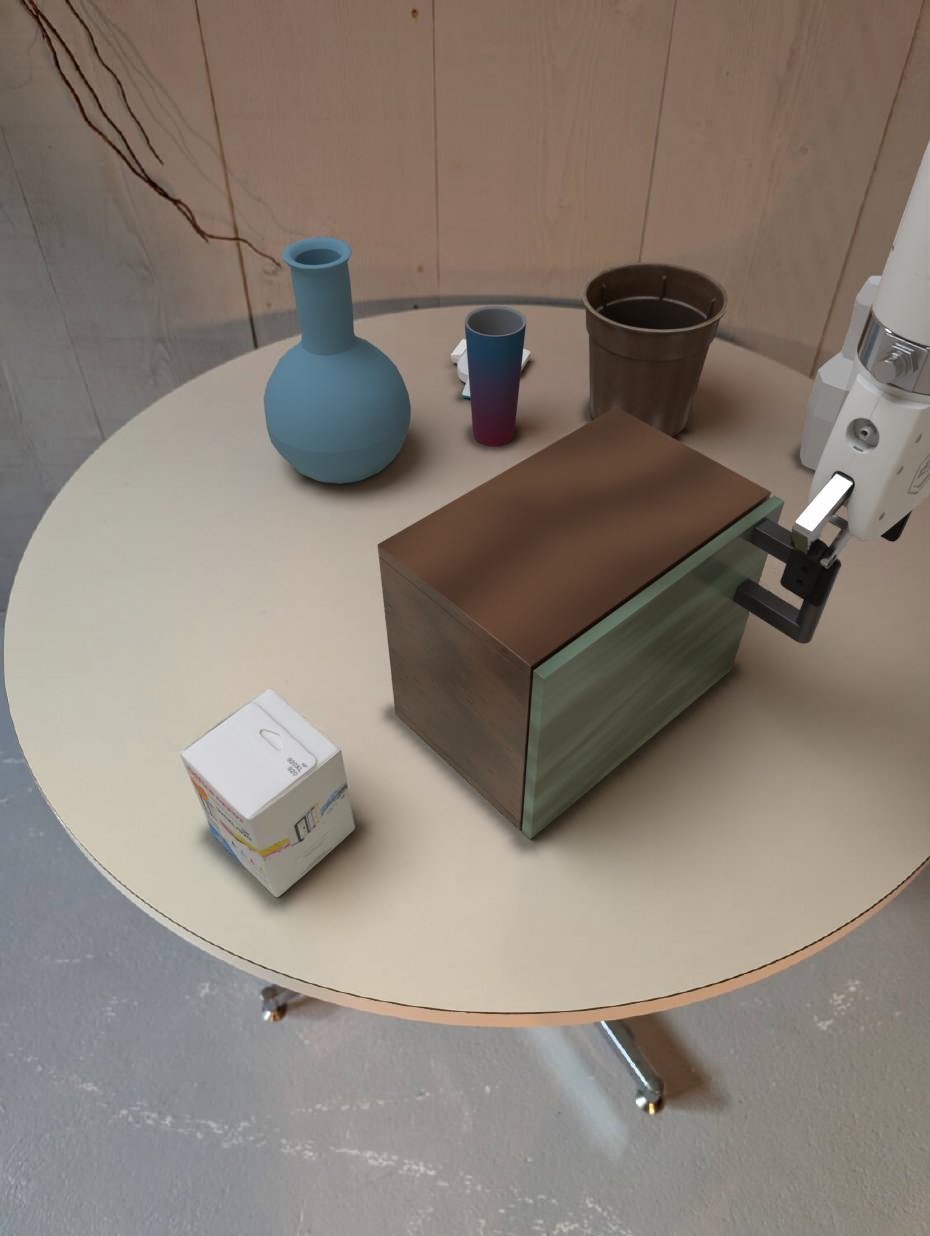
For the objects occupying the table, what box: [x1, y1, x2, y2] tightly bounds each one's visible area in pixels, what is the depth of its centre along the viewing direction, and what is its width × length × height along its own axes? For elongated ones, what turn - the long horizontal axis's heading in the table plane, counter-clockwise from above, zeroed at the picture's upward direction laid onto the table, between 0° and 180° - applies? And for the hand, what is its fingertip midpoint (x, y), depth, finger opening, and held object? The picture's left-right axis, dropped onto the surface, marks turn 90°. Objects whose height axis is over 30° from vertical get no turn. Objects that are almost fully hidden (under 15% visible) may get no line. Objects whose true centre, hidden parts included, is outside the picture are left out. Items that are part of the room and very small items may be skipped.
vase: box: [263, 236, 412, 485], centre depth 99 cm, size 16×17×25 cm
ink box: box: [179, 687, 356, 898], centre depth 69 cm, size 9×8×12 cm
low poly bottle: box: [799, 275, 882, 472], centre depth 99 cm, size 6×6×22 cm
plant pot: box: [581, 261, 730, 438], centre depth 107 cm, size 16×16×16 cm
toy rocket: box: [450, 338, 531, 399], centre depth 120 cm, size 16×10×2 cm, turn 159°
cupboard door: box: [521, 495, 842, 840], centre depth 70 cm, size 8×26×20 cm, turn 132°
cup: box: [464, 305, 527, 447], centre depth 105 cm, size 7×7×15 cm
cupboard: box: [377, 407, 772, 831], centre depth 76 cm, size 16×26×20 cm, turn 132°
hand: (840, 561), depth 65 cm, fingers open, 9 cm apart
